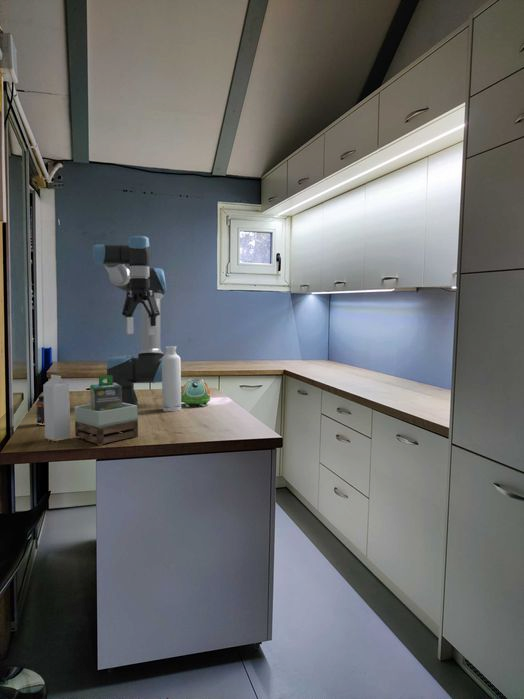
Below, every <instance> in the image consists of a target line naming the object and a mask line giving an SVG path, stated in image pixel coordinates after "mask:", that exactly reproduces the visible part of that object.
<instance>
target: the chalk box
mask: <svg viewBox="0 0 524 699" xmlns="http://www.w3.org/2000/svg"><path fill="white" fill-rule="evenodd" d="M107 379H109V382H107V381H106V382H104V380H107ZM89 388H90V389H89V390H90V393H89V394H90V404H91V410H95V411H99V412H100V411H106V410H112V409H118V408H122V391H121V386H120V385H119V384H117V383H113V376H112V375H111V376H107V375H101V376H100V375H99V377H98V383H95V384H90V386H89Z"/></svg>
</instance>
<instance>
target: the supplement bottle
mask: <svg viewBox="0 0 524 699" xmlns="http://www.w3.org/2000/svg"><path fill="white" fill-rule="evenodd" d="M35 406H36V408H35V409H36V424H37V423H42V424H43V423H45V421H44V394H40V395H38V400H37V402H36V404H35Z"/></svg>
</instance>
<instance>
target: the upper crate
mask: <svg viewBox="0 0 524 699" xmlns="http://www.w3.org/2000/svg"><path fill="white" fill-rule="evenodd" d="M138 410H139V409H138V406H137V405H132V404H127V403H122V408H118V409H112V410H106V411H100V412H99V411H95V410H91V403H88V404H82V405H76V406H74V422H75V421H77V422H81V423H84V424H88V425H92V426H95V427H104V426H109V425H114V424H119V423H124V422H129V421H134V420H138V421H139V418H138V417H139V416H138V414H139V413H138Z"/></svg>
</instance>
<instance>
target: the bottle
mask: <svg viewBox="0 0 524 699" xmlns="http://www.w3.org/2000/svg"><path fill="white" fill-rule="evenodd" d="M165 349H166V352H165V354H164V356H163V357H162V382H161V384H162V385H161V386H162V411H164V412H168V411H173V412H179V411H178V410H180V411H181V410H182V402H181V398H182V397H181V392H182V374H181V372H182V370H181V369H182V366H181V360H182V359H181V357H180V355H178V354H177V352H176V350H177V345H176V346H175V345H174V346H171V345H169V346H165Z"/></svg>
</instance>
